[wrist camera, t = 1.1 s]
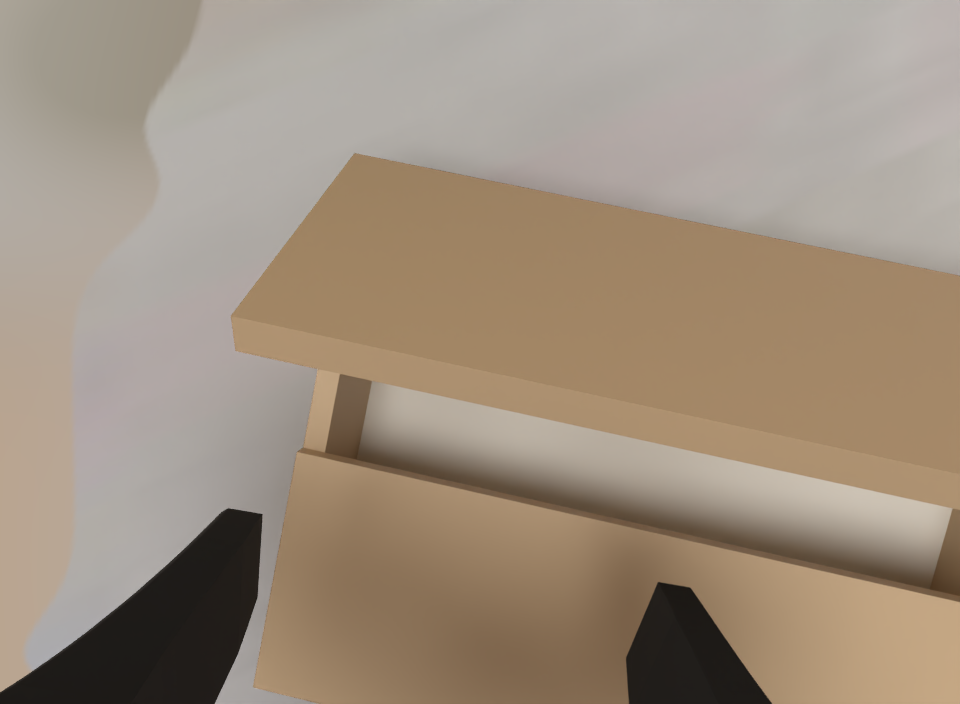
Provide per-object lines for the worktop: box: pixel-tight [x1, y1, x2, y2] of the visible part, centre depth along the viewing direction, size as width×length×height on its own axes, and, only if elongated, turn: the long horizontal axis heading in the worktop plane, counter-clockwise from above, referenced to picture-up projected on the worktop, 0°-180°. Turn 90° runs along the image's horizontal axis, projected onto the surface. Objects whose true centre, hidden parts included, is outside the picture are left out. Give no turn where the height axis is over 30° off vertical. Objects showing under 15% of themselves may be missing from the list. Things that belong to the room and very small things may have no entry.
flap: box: [231, 153, 960, 510], centre depth 14 cm, size 7×20×1 cm
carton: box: [253, 369, 960, 704], centre depth 20 cm, size 14×20×6 cm
